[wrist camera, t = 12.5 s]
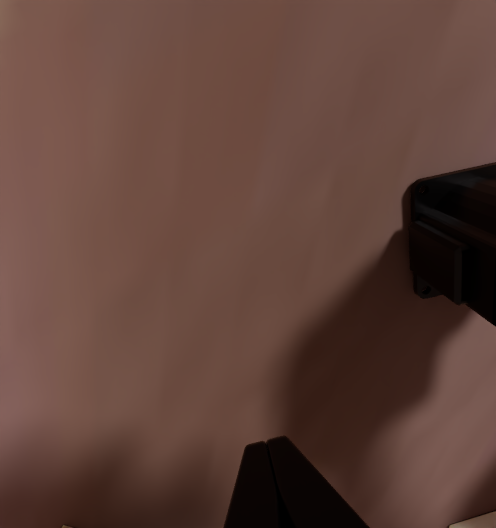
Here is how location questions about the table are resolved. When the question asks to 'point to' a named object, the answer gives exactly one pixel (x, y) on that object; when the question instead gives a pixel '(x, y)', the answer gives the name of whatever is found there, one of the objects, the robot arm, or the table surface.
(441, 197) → the robot arm
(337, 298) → the table surface
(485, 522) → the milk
